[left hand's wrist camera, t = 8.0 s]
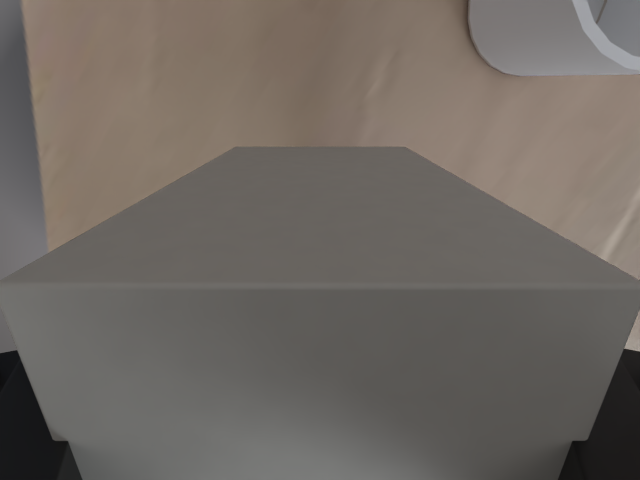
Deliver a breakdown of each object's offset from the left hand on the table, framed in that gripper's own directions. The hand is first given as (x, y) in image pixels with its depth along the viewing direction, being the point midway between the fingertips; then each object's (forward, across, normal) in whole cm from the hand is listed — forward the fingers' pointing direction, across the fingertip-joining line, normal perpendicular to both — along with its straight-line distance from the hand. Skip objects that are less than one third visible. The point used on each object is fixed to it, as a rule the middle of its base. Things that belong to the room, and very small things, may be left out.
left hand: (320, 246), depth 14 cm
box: (+2, 0, -10) cm, 11 cm away
